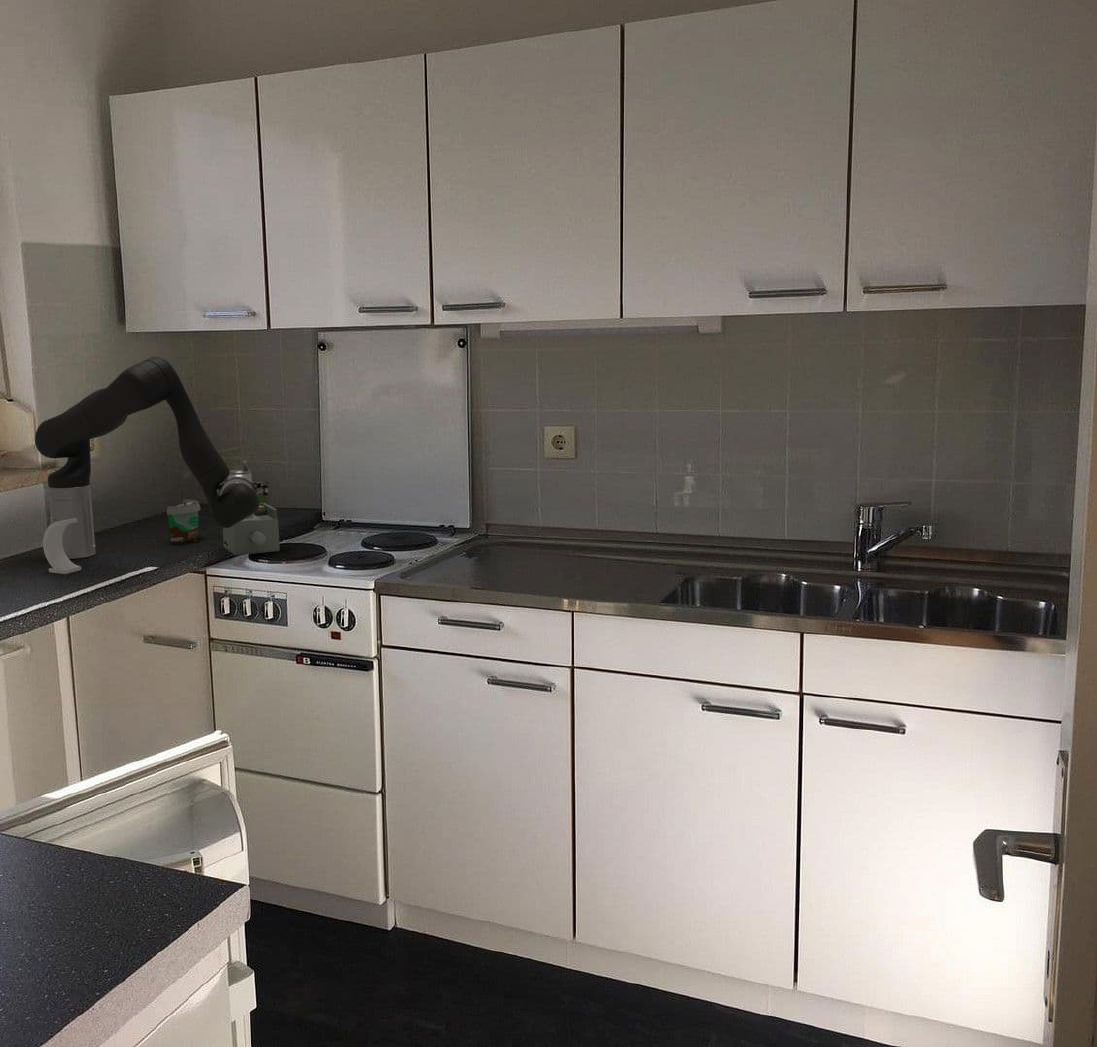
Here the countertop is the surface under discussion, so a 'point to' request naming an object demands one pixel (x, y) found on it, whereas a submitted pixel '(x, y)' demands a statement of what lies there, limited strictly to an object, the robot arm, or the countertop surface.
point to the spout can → (244, 474)
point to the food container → (183, 521)
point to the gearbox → (254, 533)
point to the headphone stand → (58, 548)
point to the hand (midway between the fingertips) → (240, 485)
